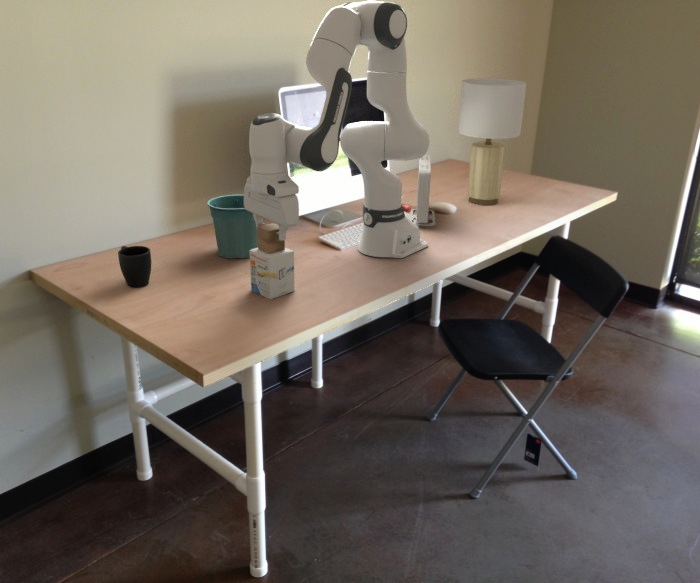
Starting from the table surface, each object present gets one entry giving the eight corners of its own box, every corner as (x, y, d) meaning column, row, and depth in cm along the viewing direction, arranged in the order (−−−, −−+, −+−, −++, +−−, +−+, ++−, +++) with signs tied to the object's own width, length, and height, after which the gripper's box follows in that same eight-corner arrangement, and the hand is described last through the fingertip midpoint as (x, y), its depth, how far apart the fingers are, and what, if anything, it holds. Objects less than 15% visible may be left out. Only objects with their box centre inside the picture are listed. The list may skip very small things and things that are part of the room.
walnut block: (274, 244, 179) (273, 222, 176) (284, 249, 175) (284, 227, 173) (257, 248, 176) (256, 226, 173) (268, 253, 172) (267, 231, 170)
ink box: (250, 290, 180) (248, 248, 176) (275, 282, 186) (273, 241, 181) (270, 300, 175) (268, 257, 170) (295, 291, 180) (294, 249, 175)
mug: (142, 271, 191) (138, 239, 188) (158, 285, 182) (154, 252, 179) (113, 278, 187) (108, 245, 183) (128, 292, 178) (124, 258, 174)
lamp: (458, 191, 275) (467, 77, 258) (515, 196, 269) (528, 80, 251) (448, 206, 255) (457, 83, 238) (509, 212, 249) (523, 86, 231)
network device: (410, 207, 253) (413, 154, 246) (434, 208, 253) (437, 154, 245) (409, 228, 230) (412, 170, 222) (435, 229, 229) (439, 171, 221)
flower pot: (207, 246, 212) (204, 196, 205) (260, 241, 216) (257, 192, 210) (214, 264, 197) (210, 211, 191) (270, 259, 202) (268, 206, 195)
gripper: (236, 175, 174) (239, 227, 179) (281, 192, 159) (282, 247, 165) (257, 172, 178) (259, 222, 183) (303, 188, 163) (303, 242, 169)
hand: (270, 234), depth 174 cm, fingers open, 8 cm apart
